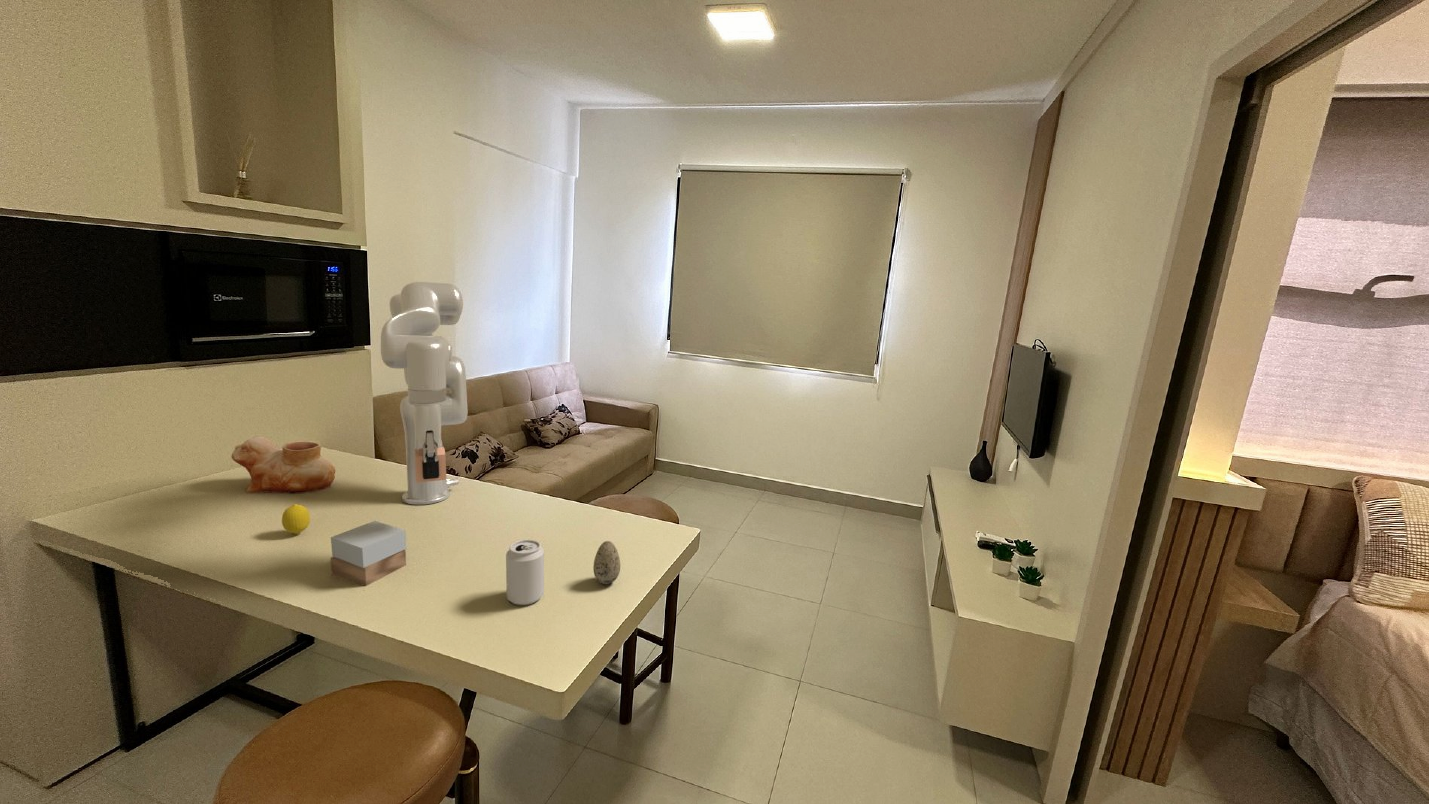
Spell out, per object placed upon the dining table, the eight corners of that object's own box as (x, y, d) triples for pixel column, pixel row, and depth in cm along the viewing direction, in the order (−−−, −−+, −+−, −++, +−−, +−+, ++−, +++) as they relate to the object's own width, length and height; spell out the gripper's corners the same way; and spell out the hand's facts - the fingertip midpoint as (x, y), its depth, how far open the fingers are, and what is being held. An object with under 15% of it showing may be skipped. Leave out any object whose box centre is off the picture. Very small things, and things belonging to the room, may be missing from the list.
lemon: (296, 540, 133) (293, 509, 132) (277, 537, 134) (274, 506, 133) (316, 531, 138) (314, 501, 137) (298, 528, 139) (295, 498, 138)
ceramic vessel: (255, 477, 171) (250, 430, 168) (345, 479, 174) (342, 433, 171) (222, 493, 157) (216, 443, 154) (320, 495, 161) (316, 446, 158)
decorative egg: (621, 588, 122) (622, 546, 120) (594, 590, 120) (595, 548, 118) (618, 574, 127) (619, 534, 125) (592, 577, 125) (593, 536, 123)
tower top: (375, 538, 128) (374, 520, 127) (406, 548, 124) (405, 530, 123) (332, 556, 119) (330, 537, 118) (363, 567, 115) (362, 548, 114)
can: (512, 587, 119) (511, 536, 117) (547, 588, 120) (547, 537, 117) (502, 607, 112) (501, 553, 109) (539, 607, 112) (539, 553, 110)
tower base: (373, 556, 128) (372, 539, 128) (406, 566, 125) (405, 548, 125) (332, 576, 119) (330, 557, 118) (366, 587, 116) (365, 567, 115)
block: (415, 474, 126) (414, 449, 125) (444, 471, 129) (443, 446, 127) (416, 482, 121) (415, 456, 119) (446, 479, 124) (445, 454, 122)
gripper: (408, 389, 126) (411, 463, 130) (408, 405, 112) (412, 488, 115) (444, 388, 130) (446, 460, 134) (448, 403, 115) (451, 484, 119)
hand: (430, 472), depth 124 cm, fingers closed on block, 6 cm apart
